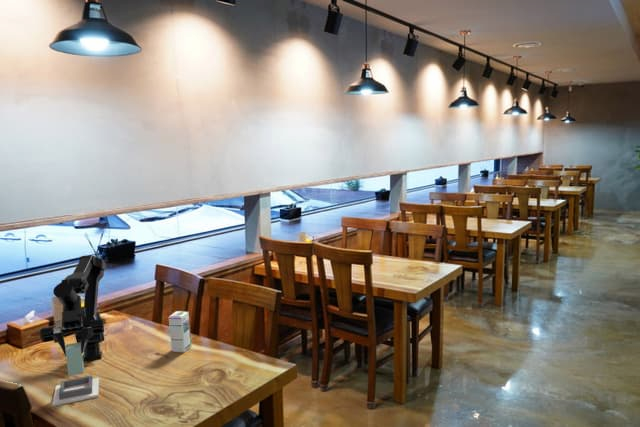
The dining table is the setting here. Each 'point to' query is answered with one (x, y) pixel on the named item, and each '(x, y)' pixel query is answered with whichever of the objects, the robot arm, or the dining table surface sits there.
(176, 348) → the syrup box
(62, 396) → the white grey square base
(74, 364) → the teal green block
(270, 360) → the dining table surface
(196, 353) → the dining table surface
